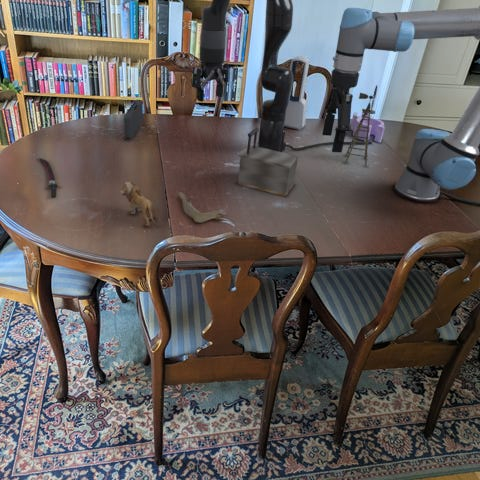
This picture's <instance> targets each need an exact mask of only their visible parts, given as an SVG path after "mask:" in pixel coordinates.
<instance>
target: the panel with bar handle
mask: <svg viewBox="0 0 480 480" xmlns="http://www.w3.org/2000/svg"><path fill="white" fill-rule="evenodd" d="M259 131H260V128H259V127H258V126H256V127H254V128H253V129H252V130H251V131H249V132H248V133H247V137H248V138H247V146H246V147H244V148H243V149H242V150H241V151H240V152H239V153H238V154H237V156H238V157H243V158H248V159H252V160H256V161H260V162H264V163H268V164H272V165H277V166H281V167H285V168H289V169H290V168H291V166H292V165H293V164H294V163H295V161H296V160H297V159H298V160H299V156H298V155H295V154H292V153H291V154H290V153H287V152H283V151H282V152H278V151H274V150H269V149H265V148H261V147H258V146H257V139H258V138H257V137H258V132H259ZM252 137H253V142H252ZM251 143H253V144H251Z"/></svg>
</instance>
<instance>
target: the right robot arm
mask: <svg viewBox="0 0 480 480" xmlns="http://www.w3.org/2000/svg"><path fill="white" fill-rule="evenodd" d="M464 37H465V38H468V37H473V38H474V39H475V40H477V41H480V5H479V6H478V7H472V8H471V7H470V8H451V9H450V8H449V9H434V10H433V9H432V10H431V9H430V10H413V11H397V12H396V11H395V12H379V11H372V10H370V9H367V8H360V7H347V8H346V9H344V10H343V14H342V17H341V21H340V25H339V32H338V37H337V44H336V49H335V55H334V56H332V61H333V65H332V66H333V68H334V69H332V70H331V74H330V80H329V81H330V83H331V88H330V91H329V95H328V97H327V101H326V103H325V106H324V109H325V118H324V122H323V128H322V136H328V137H331V136H332V133H333V130H334V131H335V134H334V137H333V138H334V139H333V142H334V143H333V144H332V149H331V152H332V153H338V154H339V153H340V154H341V153H342V152H343V148H344V145H345V144H344V142H345V139H346V134H347V132H348V133H349V132H350V130H351V129H350V126H351V117H352V115H351V114H352V104H353V98H354V96H353V93H352V94H351V93H350V90H351V89H353V88H356V87H357V86H358V83H359V77H360V73H359V72H360V71H361V69H362V64H363V60H364V55H365V50H374V51H375V50H377V51H387V52H393V53H396V52H397V53H398V52H399V53H400V52H401V53H404V52H406V51H408V50H409V49H410V48H411V46H412V44H413V42H414V40H429V39H430V40H431V39H448V38H449V39H451V38H464ZM336 115H337V127H336V128H335V129H333V128H334V125H335V124H334V123H335V120H336V119H335V118H336ZM479 146H480V86H479V87H478V89H477V90H476V92H475V94H474V95H473V97H472V99H471V100H470V102H469V104H468V106H467V107H466V109H465V110H464V111H463V113H462V115H461V117H460V118H459V120H458V122H457V124H456V125H455V127H454V129H453V131H452V132H449V131H445V130H440V129H433V128H422V129H419V130H418V131H417V133H416V135H415V137H414V140H413V144H412V147H411V150H410V154H409V158H408V160H407V164H406V166H405V169H404V171H403V172H402V174H401V175H400V176H399V178H398V179H397V180H396V182H395V185H394V191H395V193H397V195H399V196H400V197H402V198H403V199H406V200H409V201H412V202H416V203H422V204H423V203H424V204H430V203H435V202H437V201H438V200H439V198H440V195H443V196H445V197H447V198H450V199H453V200H455V201H457V202H462V203H465V204H470V205H475V206H479V207H480V201H479V202H478V201H474V200H469V199H465V198H461V197H458V196H455V195H453V194H450V193H447V192H445V191H442V190H441V189H443V190H447V191H453V190H455V191H456V190H458V189H459V188H460V189H461V188H463V187H465V186H467V185H468V184H469V183H470V182H471V181H472V180H473V179H474V178H475V176H476V173H477V168H476V164H475V162H476V160H477V159H478V157H479V156H480V149H479Z"/></svg>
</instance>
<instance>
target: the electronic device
mask: <svg viewBox="0 0 480 480" xmlns="http://www.w3.org/2000/svg"><path fill="white" fill-rule="evenodd" d="M297 63H301V64H302V72H301V78H300V84H299V90H298V96H294V95H293V89H294V82H295V76H296V69H297ZM309 67H310V59H309V58H307V57H305V56H296V57H293V58H292V59H291V60H290V66H289V69H290V70H291V71H292V73H293V85H292V90H291V95H290V100H289V104H288V106H287V110H286V116H285V123H284V128H287V129H292V130H297V131H300V130H302V129H303V128H304V127H305V125H306V119H307V105H308V101H307V100H306V99H305V98H304V97H305V91H306V86H307V79H308V72H309Z"/></svg>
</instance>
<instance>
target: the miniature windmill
mask: <svg viewBox="0 0 480 480" xmlns="http://www.w3.org/2000/svg"><path fill="white" fill-rule="evenodd" d="M377 91H378V85H375V88H374V91H373V94H372V95H368V94H366V93H363V92H360V93H359V96H358V100H367V99H369V102H368V104H367V105H366V108H362V109H361V111H362V112H361V116H362V119H361V121H360V124H361V125H360V124H359V126H358V127H357V130H356V132H355V135H354V136H352V139H351V141H350V142H351V144H349V146H347V151H346V153H345V156H347V157H346V159H345V164H346V163H348V160H349V158H350V156H356V157H362V158H364V167H367V162H368V158H369V156H368V147H369V144H368V142H369V140H368V134H369V121H370V115H375V114H376V110H373V108H374V104H375V99H376V96H377ZM371 100H372V101H371ZM362 113H364V115H362ZM368 114H369V115H368ZM366 115H368V117H365V116H366ZM364 118H368V119H364ZM364 120H368V126H367V127H363V126H362V123H363V121H364ZM361 127H362V128H367V131H366V130H360V128H361ZM357 131H358V132H357ZM359 131H365V132H367V136H366V137H359V136H358V133H359ZM357 137H358V138H365V139H366V142H364V141H360V140H357V139H358V138H357ZM355 142H360V143H366V144H365V146H364V148H359V147H354V145H355V144H354V143H355ZM352 143H353V144H352ZM353 150H358V151H364V155H362V154H355V153H352V151H353Z"/></svg>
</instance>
